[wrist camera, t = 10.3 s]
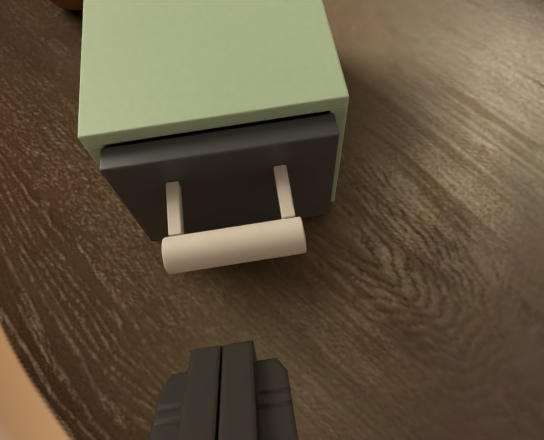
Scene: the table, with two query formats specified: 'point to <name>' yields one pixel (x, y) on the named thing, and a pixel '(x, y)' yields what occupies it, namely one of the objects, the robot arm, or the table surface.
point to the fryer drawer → (228, 188)
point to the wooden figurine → (69, 4)
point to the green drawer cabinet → (204, 67)
